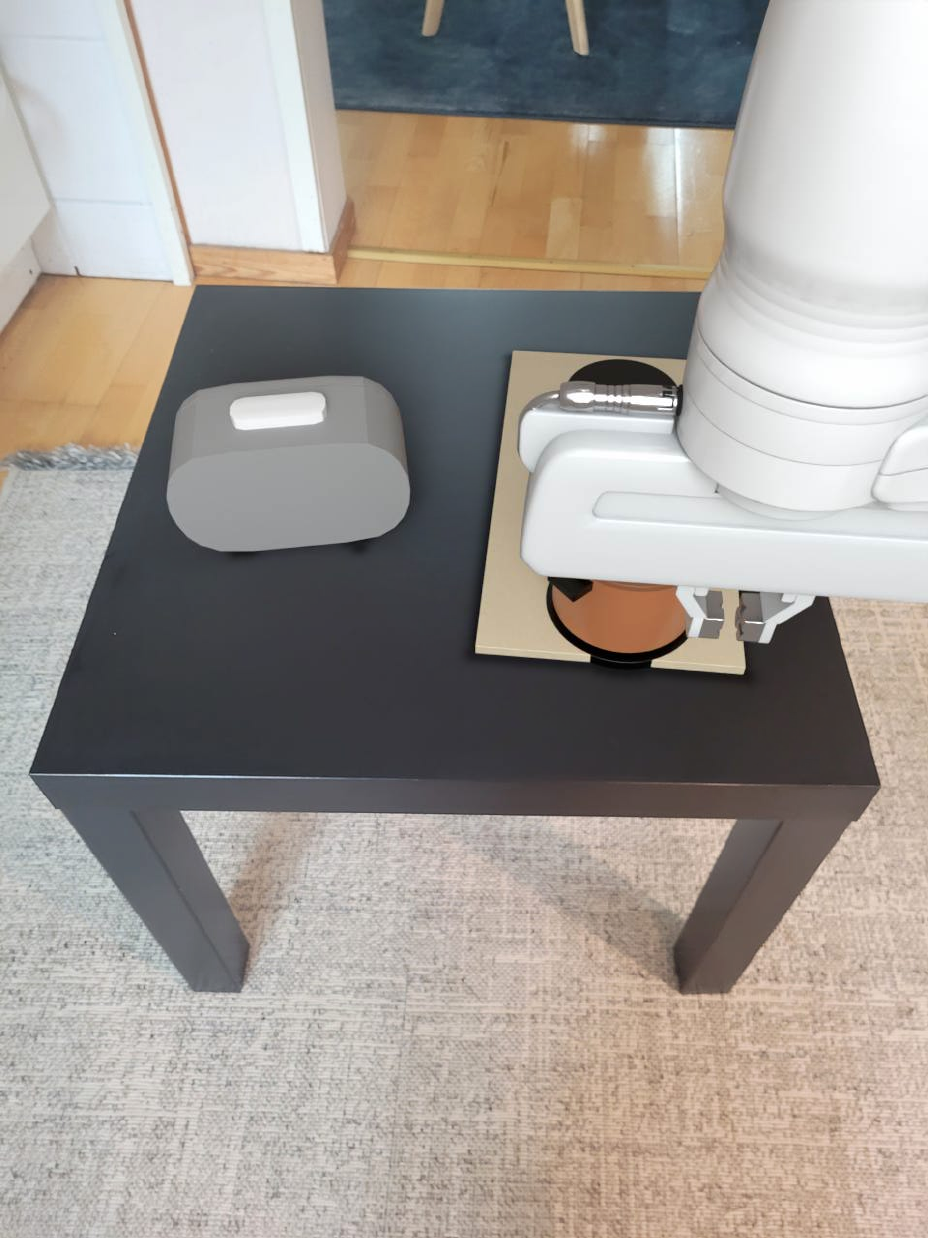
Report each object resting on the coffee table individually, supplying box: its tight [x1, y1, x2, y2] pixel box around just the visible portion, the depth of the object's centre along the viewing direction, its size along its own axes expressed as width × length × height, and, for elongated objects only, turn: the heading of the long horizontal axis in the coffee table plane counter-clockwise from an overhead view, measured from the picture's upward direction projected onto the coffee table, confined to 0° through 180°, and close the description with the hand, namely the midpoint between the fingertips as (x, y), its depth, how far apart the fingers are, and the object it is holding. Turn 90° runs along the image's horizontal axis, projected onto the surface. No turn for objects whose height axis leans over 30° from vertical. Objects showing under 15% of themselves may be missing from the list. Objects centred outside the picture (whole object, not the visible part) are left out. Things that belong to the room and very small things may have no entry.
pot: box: [547, 576, 686, 653], centre depth 76 cm, size 16×13×11 cm
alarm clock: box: [166, 375, 411, 552], centre depth 83 cm, size 21×10×13 cm, turn 97°
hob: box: [474, 349, 747, 675], centre depth 90 cm, size 22×41×1 cm, turn 174°
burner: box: [568, 359, 677, 386], centre depth 98 cm, size 12×12×1 cm
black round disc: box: [546, 582, 688, 671], centre depth 80 cm, size 13×13×1 cm
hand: (725, 629), depth 45 cm, fingers closed
